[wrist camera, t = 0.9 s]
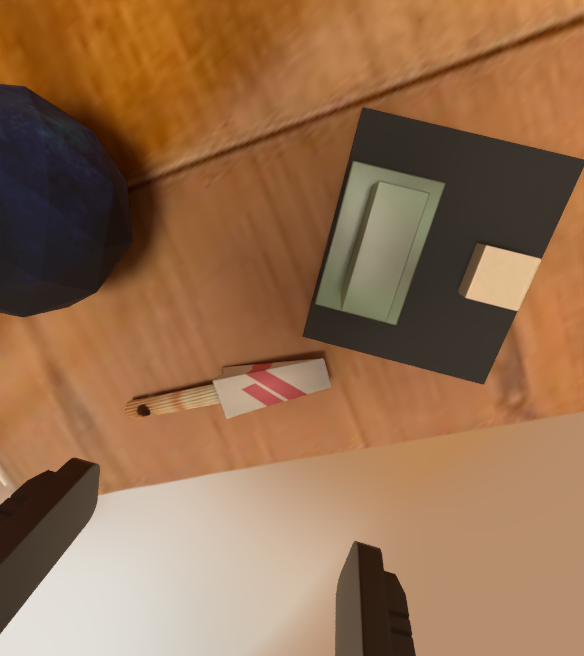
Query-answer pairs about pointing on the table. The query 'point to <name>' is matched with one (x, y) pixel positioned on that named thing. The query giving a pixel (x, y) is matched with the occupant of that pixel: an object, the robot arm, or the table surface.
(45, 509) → the robot arm
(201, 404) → the paintbrush
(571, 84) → the table surface
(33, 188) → the decorative orb
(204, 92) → the table surface
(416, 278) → the mat
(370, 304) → the green stepped block
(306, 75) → the table surface
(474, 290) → the beige square block
